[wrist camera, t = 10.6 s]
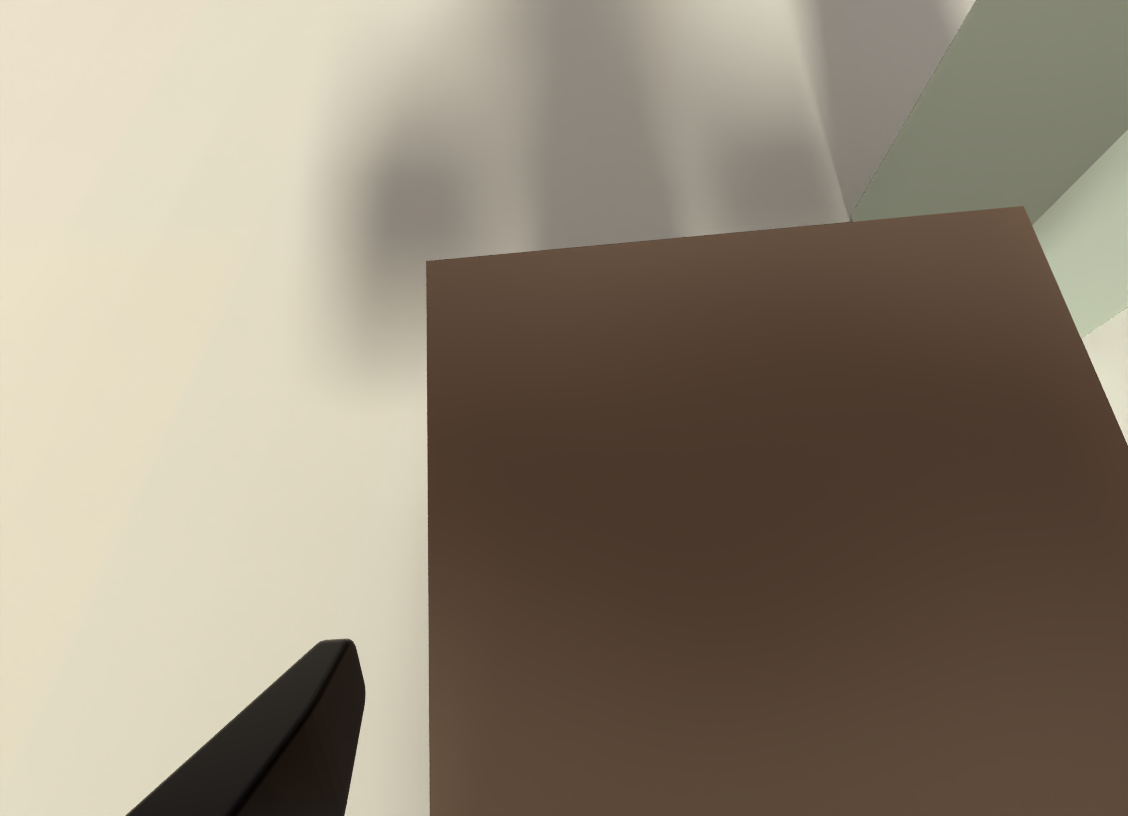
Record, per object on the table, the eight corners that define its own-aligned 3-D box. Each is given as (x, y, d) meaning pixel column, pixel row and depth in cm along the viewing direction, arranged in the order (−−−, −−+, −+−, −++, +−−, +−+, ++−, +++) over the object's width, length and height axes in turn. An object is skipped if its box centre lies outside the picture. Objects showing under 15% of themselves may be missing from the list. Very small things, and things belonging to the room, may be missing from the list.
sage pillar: (1072, 344, 22) (1594, -9, 11) (896, 361, 22) (1230, 26, 11) (1011, 200, 25) (1389, -220, 13) (850, 216, 25) (1087, -192, 13)
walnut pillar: (796, 754, 16) (1341, 941, 4) (546, 777, 16) (431, 1025, 4) (748, 508, 18) (1023, 206, 7) (529, 528, 18) (426, 261, 7)
